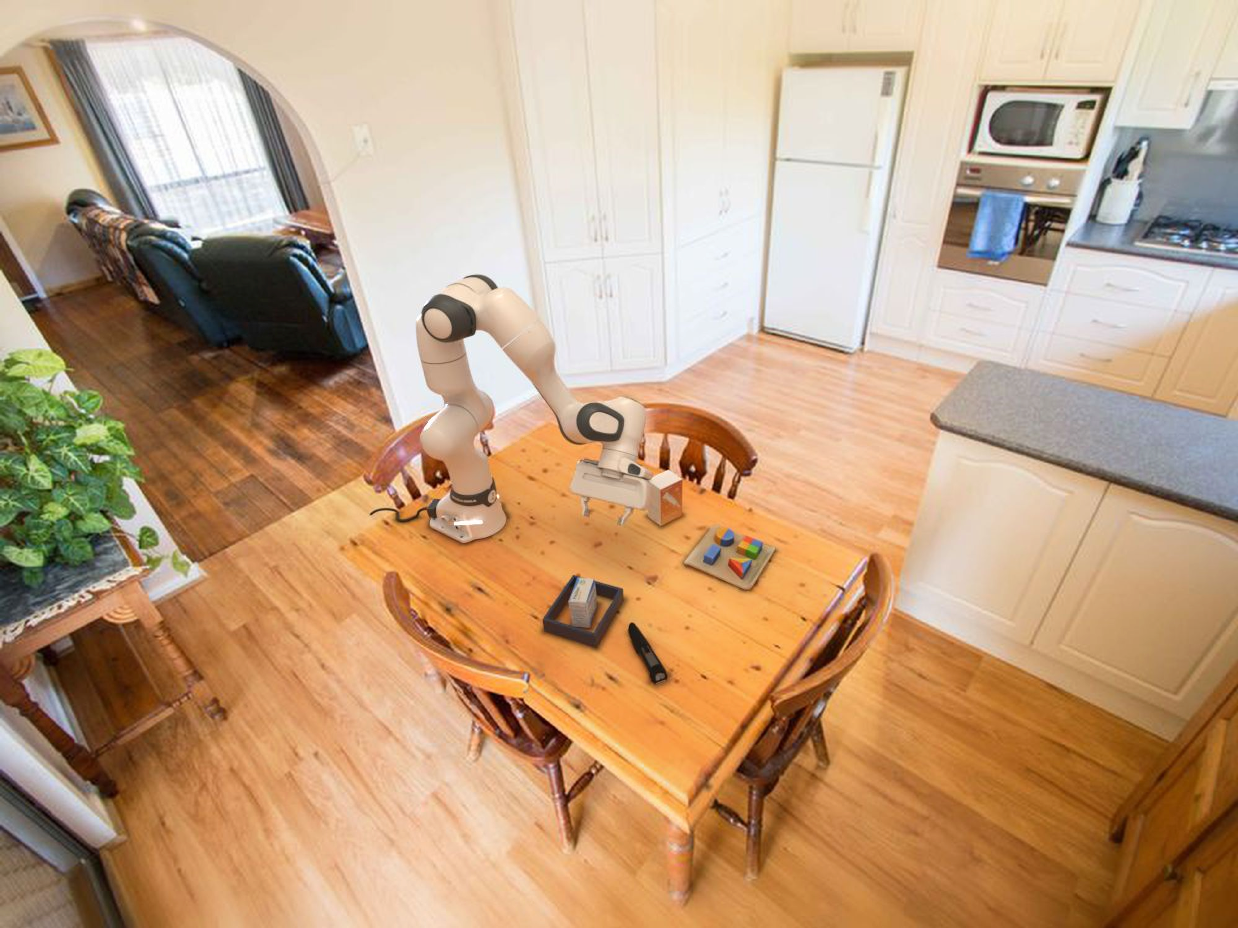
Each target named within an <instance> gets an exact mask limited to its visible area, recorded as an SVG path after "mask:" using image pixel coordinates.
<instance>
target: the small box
mask: <svg viewBox="0 0 1238 928" xmlns="http://www.w3.org/2000/svg"><path fill="white" fill-rule="evenodd" d="M648 481H650V482H651V484H652V497H651V502H650V507H649V508H648V509H647V517H648V518H649V519H650V520H652V521H653V522H655V524H657V525H658V526H659V527H663V526H665V525H666V524H668V523H670V522H673V521H674V520H676V519H678V518H679V517H682V516H683V478H682V477H681V476H679V475H677V474H675V472H673V471H671V470H670V469H667V470H665V471H663V472H661V473H657V474H655V475H653V477H652V479H651V480H648Z"/></svg>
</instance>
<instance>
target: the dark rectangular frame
mask: <svg viewBox="0 0 1238 928" xmlns="http://www.w3.org/2000/svg"><path fill="white" fill-rule="evenodd" d="M577 578H584V577H582V576H579V575H576V574H573V575H571V577H570V579H569V580H568V581H567V583H566V584H565V586H564V587H563V589H562V590H561V592H560V593H559V595H558V596H557V597H556V599H555V600H554V601H553V603H552V605H551V606H550V608H549V609H548V611H547V612H546V614H545V615H544V616H543V618H542V620H541V621H542V626H543V629H544V630H543V631H544V632H546V633H549V634H552V635H555V636H558V637H561V638H565V639H568V640H569V641H570V640H571V641H574V642H577V643H580V644H583V645H586V646H589V647H592V648H598V647H599V645H600V643H601V641H602V639H603V637H604V636H605V634H606V633H607V631H608V629H609V627H610V626H611V623H612V622H613V620H614V618H615V617H616V615H617V613H618V612H619V610H620V608H621V606H622V605H623V602H624V601H625V597H624V588H622V587H619V586H615V585H611V584H608V583H604V582H601V581H597V580H595V588H596V596H598V597H599V596H600V597H603V598H607V599H610V600H612V601H611V603H609V606H608V608H607V609H606V611H605V612H604V614H603V616H602V618H601V620H600V621H599V623H598V625H597V626H596V628H595V630H594V631H590V630H587V629H584V628H581V627H575V626H572V624H571V625H570V624H567V623H565V622H562V621H558V620H557V619H558V617H559V616H560V614H561V612H562V611H563V609H564V608H565V607H566V605H567V603H569V599H570V596H571V594H572V591H573V588H574V586H575V583H576V580H577Z"/></svg>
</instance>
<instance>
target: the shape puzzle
mask: <svg viewBox="0 0 1238 928" xmlns="http://www.w3.org/2000/svg"><path fill="white" fill-rule="evenodd" d="M775 551H776V547H775V546H770V545H766V544H765V543H764V542H763V541H761V540H759V539H756V538H754V537H751V536H749V535H742V534H739V533H738V532H735V531H734V530H733V529H731V528H729V527H723V526H720V525H717V524H715V525H712V526H711V527H710V528H709V529H708V530H707V532H706V533H705V534H704V536H703V537H702V538H701V540H700V541H699V542H698V543H697V544H696V546H695V547H694V549H693V550H692V551H691V552H690V553H689V555H688V556H687V558H685V560H684V561H683V565H686V566H690V567H692V568H695V569H697V570H699V571H702V572H703V573H706V574H708V575H711V576H712V577H715V578H717V579H719V580H721V581H724V582H726V583H729V584H730V585H733V586H735V587H738V588H739V589H741V590H745V591H747V590H750V589H751V588H753V586H754V585H755V584H756V583H757V580H758V578H759V577H760V575H761V573H762V572H763V570H764V569H765V567H766V566H767V564H768V563H769V560H770V558H771V557H772V556H773V555H774V552H775Z"/></svg>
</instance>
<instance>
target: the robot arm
mask: <svg viewBox="0 0 1238 928" xmlns="http://www.w3.org/2000/svg"><path fill="white" fill-rule="evenodd" d="M477 331H481V332H482V331H483V332H485V333H487V334H488V335H490V337H491V338H493V340H494V341H495V343H496V344H497V345H498V346H499V347H500V349H501V350H502V351H503V353H504V354H505V355H506V356H507V357H508V358H509V360H510V361H511V362H512V363H513V364H514V365H515V366H516V367H517V368H518V369H519V370H520V371H521V373H523V375H524V376H525V377H526V378H527V379H528V380H529V382H531V383H532V385H533V386H534V388H535V390H536V391H537V392H538V393H539V395H540V396H541V397H542V399H543V400H544V401H545V404H547V406H548V407H549V408H550V410H551V411H552V413H553V415H554V417H555V418H556V421H557V425H558V428H559V432H560V434H561V435H562V437H563V438H564V439H565V440H566V441H567V442H568V443H570V444H572V445H575V446H583V445H587V444H594V443H595V444H596V443H599V444H600V445H601V446H602V447H601V451H600V455H599V459H598V460H595V459H590V458H587V457H586V458H585V457H584V458H582V459H580V460H578V461H577V463H576V466H575V473H574V474H573V477H572V479H571V482H570V486H569V490H570V493H571V494H573V495H576V496H581V497H580V502H581V503H580V504H581V507H582V513H581V516H582V517H586V518H590V517H591V514H592V509H589V504H588V503H590V502H591V499H593V500H594V499H595V500H598V501H601V502H606V503H611V504H614V505H618V506H623V507H624V512H625V513H624V514H623V515H622V517H618V518H617V522H616V524H617V526H622V527H625V526H626V524H627V520H628V519H629V518H630V517H631V516H632V515H633V513H634V510H639V511H643V512H646V511H648V508H649V507H650V502H651V497H652V484H651V482H650V481H648V480H651V479H652V477H654V473H653V472H652V471H651V470H650V469H648V468H646V467H645V466H643V465H642V463H641V464H640V463H638V462H637V461H638V457H639V446H640V444H641V443H642V440H643V436H644V432H645V427H646V420H647V411H646V408H645V406H644V405H643V404H642V403H640V402H639V401H638V400H635V399H633V398H631V397H627V396H619V397H616V398H613V399H609V400H604V401H589V402H584V403H582V402H580V401H579V400H577V399H576V398H575V396H574V395H573V394H572V392H571V391H570V390H569V388H568V387H567V385H566V384H565V383H564V381H563V380H562V378H561V377H560V375H559V374H558V372H557V368H556V365H555V356H556V341H555V340H554V338H553V336H552V334H551V332H550V331H549V328H548V327H547V326H546V324H545V323H544V321H542V319H541V318H540V317H539V316H538V315H537V313H536V312H535V311H534V310H533V308H532V307H530V305H529V304H528V303H527V302H526V301H525V300H524V299H523V298H522V297H520V295H518V294H517V292H515V291H514V290H513V289H511V288H509V287H505V286H502V287H498V285H497V283H496V282H495V281H494V280H493V279H492V278H490V277H489V276H486V275H484V274H480V273H479V274H478V273H477V274H475V273H474V274H470V275H466V276H464V277H463V278H461V279H459V280H456V281H454V282H452V283H449V284H448V285H447V286H446V287H445V288H444V289H442V290H440V291H439V292H438V293H437V294H433V296H431V297H429V299H428V300H427V301H426V302H425V303H424V305H423V307H422V309H421V312H420V314H419V315H418V317H417V318H416V322H415V336H416V344H417V345H416V346H417V351H418V355H419V358H420V365H421V368H422V371H423V376H424V379H425V384H426V387H427V388H428V390H430V391H431V392H433V393H434V394H436V395H440V396H441V398H442V400H443V407H442V408H441V410H439V411H438V412H437V413H436V414H435V415H434V416H432V417H431V418H430V419H429V420H428V421H427V423H426V424H425V426H424V427H423V429H422V430H421V433H420V434H419V443H420V446H421V448H422V450H423V452H424V453H426V454H427V455H428V456H429V457H431V458H432V459H435V460H437V461H442V462H443V464H444V465H445V468H446V469H447V473H448V476H449V479H450V482H449V485H447V487H445V489H444V490H445V493H447V492H448V493H447V494H445V495H444V496H443V497H442V498H432V500H431V502H430V503H429V505H428V506H424V507H421V508H419V509H418V510H417V512H416V514H415V515H413V516H411V517H408V518H400V517H399V515H400V512H399V510H398V509H395V508H392V507H391V508H390V507H379V508H376V509H374V510H372V511H371V512H370V513H369V516H373V515H374V514H376V513H378V512H385V511H389V512H393V513H395V520H396V521H397V522H399V523H405V522H409V521H413V520H415V519H416V518H418V517H419V516H420V513H421V512H423V511H426V514H427V517H428V518H429V519H430V518H431V519H430V521H429V527H430V528H431V529H433V530H435V531H437V532H439V533H442V534H443V535H445V536H447V537H449V538H452V539H454V540H456V541H458V542H460V543H462V544H467V543H470V542H472V541H474V540H475V541H476V540H479V539H480V540H481V539H485V538H488V537H490V536H493V535H495V534H497V533H498V532H500V531H501V530H502V529H503V528H504V527H505V525H506V523H507V515H506V514H505V513H506V512H504V509H503V505H502V503H501V502H500V500H499V498H500V495H499V494H498V493H497V486H496V481H495V478H494V477H493V475H492V471H491V466H490V461H489V457H488V455H487V454H486V453H485V452H484V451H481V450H480V449H478V448H475V439H476V437H477V436H478V435H479V434H480V433H481V432H482V431H483V430H484V429H485V428H486V427H487V426H488V424H489V423H490V421H491V419H492V417H493V415H494V413H495V403H494V401H493V400H492V398H491V397H490V395H489V394H487V393H486V392H485V391H484V390H481V389H479V388H478V387H477V385H476V383H475V381H474V378H473V376H472V372H471V371H472V370H471V367H470V363H469V358H468V353H467V349H466V344H465V340H464V339H467V338H470V337H473V336H475V335H476V332H477Z"/></svg>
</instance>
